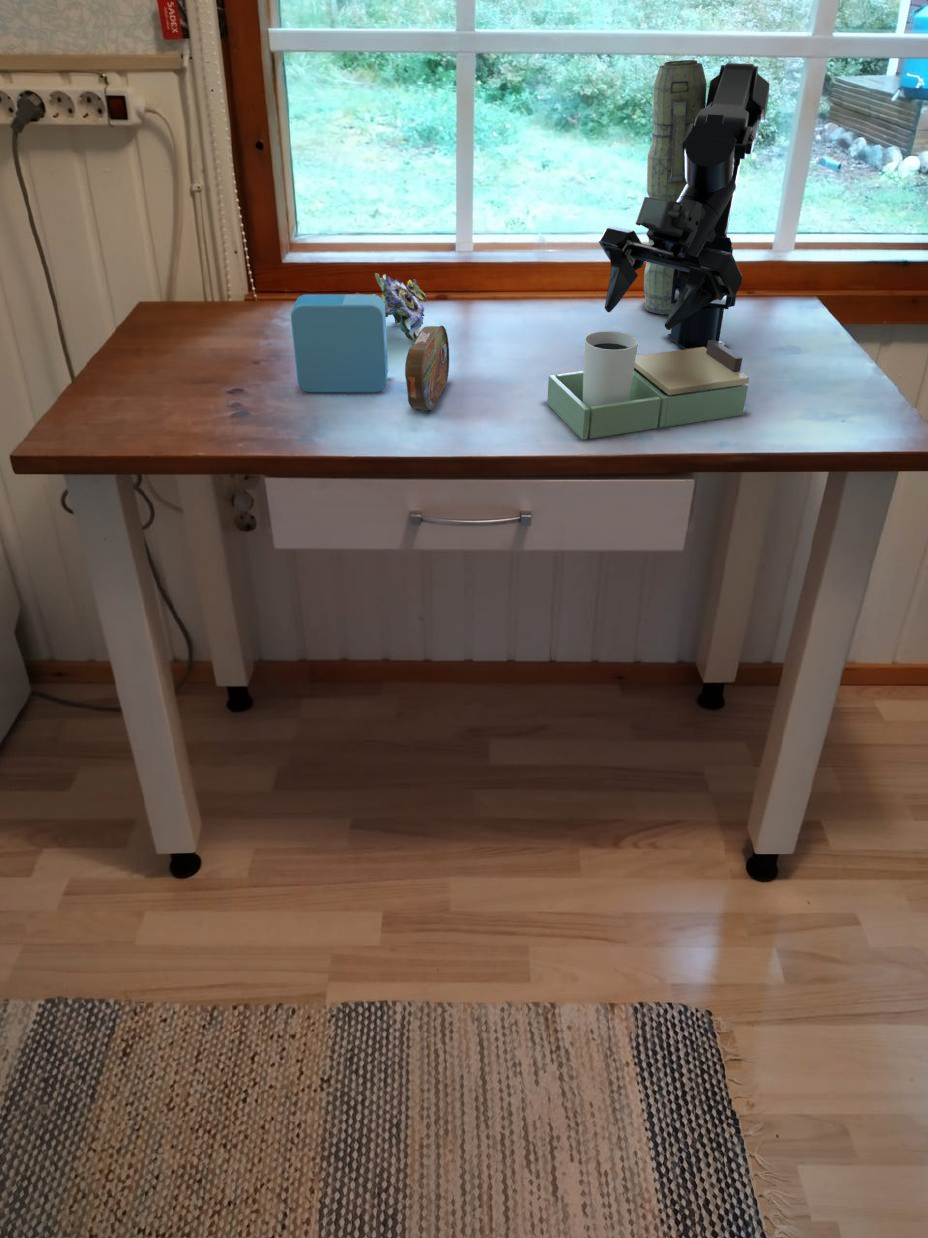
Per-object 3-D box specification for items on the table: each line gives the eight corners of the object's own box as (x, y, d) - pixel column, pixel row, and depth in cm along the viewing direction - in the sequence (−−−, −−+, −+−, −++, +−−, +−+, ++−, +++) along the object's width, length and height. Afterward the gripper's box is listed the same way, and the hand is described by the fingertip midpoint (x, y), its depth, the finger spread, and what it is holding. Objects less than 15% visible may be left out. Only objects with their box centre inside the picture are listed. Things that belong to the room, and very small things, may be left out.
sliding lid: (703, 352, 135) (706, 333, 133) (748, 383, 126) (752, 363, 124) (627, 362, 132) (629, 343, 130) (668, 395, 123) (671, 375, 121)
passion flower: (416, 373, 154) (427, 327, 142) (346, 362, 152) (352, 314, 141) (422, 312, 157) (433, 263, 146) (353, 300, 156) (360, 250, 144)
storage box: (698, 382, 137) (702, 354, 135) (742, 415, 128) (748, 385, 126) (546, 403, 131) (548, 375, 129) (582, 439, 122) (584, 409, 120)
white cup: (636, 410, 130) (644, 335, 124) (621, 430, 125) (629, 353, 119) (588, 401, 132) (594, 327, 126) (571, 420, 127) (576, 345, 121)
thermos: (648, 318, 157) (654, 67, 138) (640, 297, 167) (645, 60, 147) (704, 315, 156) (719, 62, 137) (693, 294, 166) (705, 55, 147)
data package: (388, 379, 138) (384, 293, 131) (386, 393, 134) (382, 305, 127) (302, 379, 138) (294, 293, 131) (298, 392, 134) (289, 305, 127)
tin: (427, 420, 127) (425, 357, 122) (403, 418, 127) (400, 355, 123) (451, 376, 139) (451, 316, 134) (429, 374, 139) (428, 315, 134)
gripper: (614, 157, 123) (552, 267, 123) (746, 181, 112) (678, 301, 112) (644, 212, 132) (587, 314, 132) (769, 239, 122) (706, 350, 122)
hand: (636, 318), depth 124 cm, fingers open, 9 cm apart
